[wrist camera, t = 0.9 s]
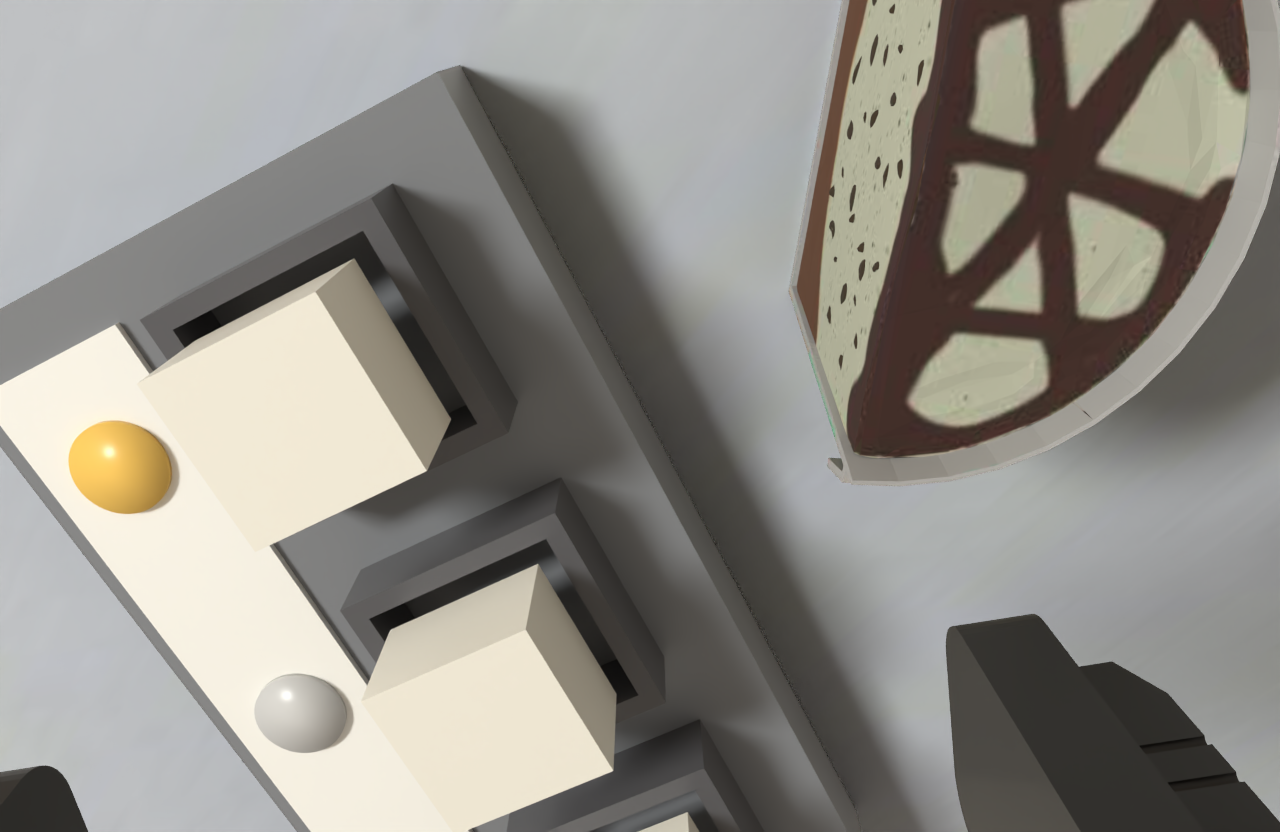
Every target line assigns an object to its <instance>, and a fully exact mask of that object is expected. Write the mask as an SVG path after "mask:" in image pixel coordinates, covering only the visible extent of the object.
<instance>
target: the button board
mask: <svg viewBox="0 0 1280 832" xmlns="http://www.w3.org/2000/svg"><path fill="white" fill-rule="evenodd" d="M352 259H355V260H356V262H357V264H358V265H359V267H360V269H361V270H362V272H363V274H364V275H365V277H366V279H367V280H368V282H369V284H370V285H371V287H372V288H373V290H374V292H375V293H376V295H377V297H378V298H379V300H380V302H381V303H382V305H383V307H384V308H385V310H386V312H387V313H388V315H389V317H390V318H391V320H392V322H393V323H394V325H395V327H396V328H397V330H398V332H399V333H400V335H401V337H402V338H403V340H404V342H405V343H406V345H407V347H408V348H409V350H410V352H411V353H412V355H413V357H414V358H415V360H416V362H417V363H418V365H419V367H420V368H421V370H422V372H423V373H424V375H425V377H426V378H427V380H428V382H429V383H430V385H431V387H432V388H433V390H434V392H435V393H436V395H437V397H438V398H439V400H440V401H441V403H442V405H443V406H444V408H445V410H446V411H447V413H448V415H449V416H450V418H451V421H450V423H449V425H448V427H447V430H446V432H445V434H444V436H443V438H442V440H441V442H440V444H439V446H438V449H437V451H436V453H435V455H434V457H433V459H432V461H431V463H430V466H429V468H428V470H427V471H426V472H424V473H422V474H420V475H417V476H415V477H413V478H411V479H409V480H407V481H405V482H403V483H401V484H398V485H396V486H394V487H392V488H390V489H388V490H386V491H384V492H381V493H379V494H377V495H375V496H373V497H371V498H369V499H367V500H365V501H362V502H360V503H358V504H356V505H354V506H352V507H350V508H348V509H346V510H343V511H341V512H339V513H337V514H335V515H333V516H331V517H329V518H326V519H324V520H322V521H320V522H318V523H316V524H314V525H312V526H310V527H307V528H305V529H303V530H301V531H299V532H297V533H295V534H293V535H291V536H288V537H286V538H284V539H282V540H280V541H278V542H276V543H274V544H271V545H269V546H267V547H265V548H263V549H261V550H259V551H257V552H255V551H254V550H253V548H252V547H251V545H250V544H249V543H248V541H247V540H246V538H245V537H244V535H243V534H242V533H241V531H240V530H239V528H238V527H237V526H236V524H235V523H234V521H233V520H232V518H231V517H230V516H229V514H228V513H227V511H226V510H225V509H224V507H223V506H222V504H221V503H220V501H219V500H218V499H217V497H216V496H215V494H214V493H213V492H212V490H211V489H210V487H209V486H208V484H207V483H206V482H205V480H204V479H203V477H202V476H201V474H200V473H199V472H198V470H197V469H196V467H195V466H194V465H193V463H192V462H191V460H190V459H189V457H188V456H187V455H186V453H185V452H184V450H183V449H182V448H181V446H180V445H179V443H178V442H177V440H176V439H175V438H174V436H173V435H172V433H171V432H170V431H169V429H168V428H167V426H166V425H165V423H164V422H163V421H162V419H161V418H160V416H159V415H158V414H157V412H156V411H155V409H154V408H153V406H152V405H151V404H150V402H149V401H148V399H147V398H146V397H145V395H144V394H143V392H142V391H141V389H140V388H139V387H138V385H137V383H138V382H139V381H141V380H142V379H144V378H145V377H146V376H148V375H149V374H150V373H152V372H153V371H154V370H156V369H157V368H159V367H160V366H161V365H163V364H164V363H165V362H167V361H168V360H169V359H171V358H172V357H174V356H175V355H176V354H178V353H179V352H180V351H182V350H183V349H184V348H186V347H187V346H189V345H190V344H191V343H193V342H194V341H195V340H197V339H199V338H201V337H203V336H205V335H207V334H209V333H211V332H213V331H215V330H217V329H219V328H221V327H223V326H224V325H226V324H228V323H230V322H232V321H234V320H236V319H238V318H240V317H242V316H244V315H246V314H248V313H250V312H252V311H254V310H255V309H257V308H259V307H261V306H263V305H265V304H267V303H269V302H271V301H273V300H275V299H277V298H279V297H281V296H283V295H284V294H286V293H288V292H290V291H292V290H294V289H296V288H298V287H300V286H302V285H304V284H306V283H308V282H310V281H312V280H313V279H315V278H317V277H319V276H321V275H323V274H325V273H327V272H329V271H331V270H333V269H335V268H337V267H339V266H341V265H342V264H344V263H346V262H348V261H350V260H352ZM0 447H1V448H2V449H3V451H4V452H5V453H6V455H7V456H8V457H9V458H10V460H11V461H12V462H13V464H14V465H15V466H16V468H17V469H18V470H19V471H20V473H21V474H22V475H23V477H24V478H25V479H26V481H27V482H28V483H29V484H30V486H31V487H32V488H33V490H34V491H35V492H36V494H37V495H38V496H39V497H40V499H41V500H42V501H43V503H44V504H45V505H46V507H47V508H48V509H49V510H50V512H51V513H52V514H53V516H54V517H55V518H56V519H57V521H58V522H59V523H60V525H61V526H62V527H63V529H64V530H65V531H66V532H67V534H68V535H69V536H70V538H71V539H72V540H73V542H74V543H75V544H76V545H77V547H78V548H79V549H80V551H81V552H82V553H83V555H84V556H85V557H86V558H87V560H88V561H89V562H90V564H91V565H92V566H93V567H94V569H95V570H96V571H97V573H98V574H99V575H100V577H101V578H102V579H103V580H104V582H105V583H106V584H107V586H108V587H109V588H110V590H111V591H112V592H113V593H114V595H115V596H116V597H117V599H118V600H119V601H120V603H121V604H122V605H123V606H124V608H125V609H126V610H127V612H128V613H129V614H130V616H131V617H132V618H133V619H134V621H135V622H136V623H137V625H138V626H139V627H140V628H141V630H142V631H143V632H144V634H145V635H146V636H147V638H148V639H149V640H150V641H151V643H152V644H153V645H154V647H155V648H156V649H157V651H158V652H159V653H160V654H161V656H162V657H163V658H164V660H165V661H166V662H167V664H168V665H169V666H170V667H171V669H172V670H173V671H174V673H175V674H176V675H177V677H178V678H179V679H180V680H181V682H182V683H183V684H184V686H185V687H186V688H187V689H188V691H189V692H190V693H191V695H192V696H193V697H194V699H195V700H196V701H197V702H198V704H199V705H200V706H201V708H202V709H203V710H204V712H205V713H206V714H207V715H208V717H209V718H210V719H211V721H212V722H213V723H214V725H215V726H216V727H217V728H218V730H219V731H220V732H221V734H222V735H223V736H224V737H225V739H226V740H227V741H228V743H229V744H230V745H231V747H232V748H233V749H234V750H235V752H236V753H237V754H238V756H239V757H240V758H241V760H242V761H243V762H244V763H245V765H246V766H247V767H248V769H249V770H250V771H251V773H252V774H253V775H254V776H255V778H256V779H257V780H258V782H259V783H260V784H261V786H262V787H263V788H264V789H265V791H266V792H267V793H268V795H269V796H270V797H271V798H272V800H273V801H274V802H275V804H276V805H277V806H278V808H279V809H280V810H281V811H282V813H283V814H284V815H285V817H286V818H287V819H288V821H289V822H290V823H291V824H292V826H293V827H294V828H295V830H296V831H297V832H452V830H451V829H450V827H449V826H448V825H447V823H446V822H445V820H444V819H443V818H442V816H441V815H440V813H439V812H438V810H437V809H436V808H435V806H434V805H433V803H432V802H431V801H430V799H429V798H428V796H427V795H426V793H425V792H424V791H423V789H422V788H421V786H420V785H419V784H418V782H417V781H416V779H415V778H414V776H413V775H412V774H411V772H410V771H409V769H408V768H407V767H406V765H405V764H404V762H403V761H402V759H401V758H400V757H399V755H398V754H397V752H396V751H395V750H394V748H393V747H392V745H391V744H390V742H389V741H388V740H387V738H386V737H385V735H384V734H383V732H382V731H381V730H380V728H379V727H378V725H377V724H376V723H375V721H374V720H373V718H372V717H371V715H370V714H369V713H368V711H367V710H366V708H365V707H364V706H363V704H362V703H361V700H362V697H363V695H364V693H365V690H366V688H367V685H368V683H369V680H370V678H371V675H372V673H373V671H374V668H375V666H376V663H377V661H378V658H379V656H380V654H381V651H382V649H383V646H384V644H385V641H386V639H387V636H388V634H389V632H390V630H391V629H394V628H396V627H398V626H400V625H403V624H405V623H407V622H409V621H411V620H414V619H416V618H418V617H420V616H423V615H425V614H427V613H429V612H432V611H434V610H436V609H438V608H441V607H443V606H445V605H447V604H449V603H452V602H454V601H456V600H458V599H461V598H463V597H465V596H467V595H470V594H472V593H474V592H476V591H479V590H481V589H483V588H485V587H487V586H490V585H492V584H494V583H496V582H499V581H501V580H503V579H505V578H508V577H510V576H512V575H514V574H517V573H519V572H521V571H523V570H525V569H528V568H530V567H532V566H534V565H537V564H539V566H540V568H541V569H542V571H543V573H544V574H545V576H546V578H547V579H548V581H549V583H550V584H551V586H552V588H553V589H554V591H555V593H556V594H557V596H558V598H559V599H560V601H561V603H562V604H563V606H564V608H565V609H566V611H567V613H568V614H569V616H570V617H571V619H572V621H573V622H574V624H575V626H576V627H577V629H578V631H579V632H580V634H581V636H582V637H583V639H584V641H585V642H586V644H587V646H588V647H589V649H590V651H591V652H592V654H593V656H594V657H595V659H596V661H597V662H598V664H599V666H600V667H601V669H602V671H603V672H604V674H605V676H606V677H607V679H608V681H609V682H610V684H611V686H612V687H613V689H614V691H615V692H616V694H617V695H616V720H615V745H614V770H613V771H612V772H610V773H607V774H605V775H602V776H600V777H597V778H595V779H592V780H590V781H587V782H585V783H583V784H580V785H578V786H575V787H573V788H570V789H568V790H565V791H563V792H560V793H558V794H555V795H553V796H551V797H548V798H546V799H543V800H541V801H538V802H536V803H533V804H531V805H528V806H526V807H523V808H521V809H519V810H516V811H514V812H511V813H509V814H506V815H504V816H501V817H499V818H496V819H494V820H491V821H489V822H487V823H484V824H482V825H479V826H477V827H474V828H472V829H469V830H467V831H464V832H638V831H641V830H643V829H646V828H648V827H651V826H653V825H656V824H659V823H661V822H664V821H666V820H669V819H671V818H674V817H676V816H679V815H681V814H684V813H686V812H688V814H689V815H690V817H691V819H692V820H693V822H694V824H695V825H696V827H697V829H698V830H699V832H862V831H861V828H860V824H859V820H858V816H857V812H856V809H855V807H854V806H853V804H852V802H851V800H850V798H849V796H848V794H847V792H846V791H845V789H844V787H843V785H842V783H841V781H840V779H839V777H838V775H837V774H836V772H835V770H834V768H833V766H832V764H831V762H830V760H829V759H828V757H827V755H826V753H825V751H824V749H823V747H822V745H821V743H820V742H819V740H818V738H817V736H816V734H815V732H814V730H813V728H812V727H811V725H810V723H809V721H808V719H807V717H806V715H805V713H804V712H803V710H802V708H801V706H800V704H799V702H798V700H797V698H796V696H795V695H794V693H793V691H792V689H791V687H790V685H789V683H788V681H787V680H786V678H785V676H784V674H783V672H782V670H781V668H780V666H779V664H778V663H777V661H776V659H775V657H774V655H773V653H772V651H771V649H770V648H769V646H768V644H767V642H766V640H765V638H764V636H763V634H762V632H761V631H760V629H759V627H758V625H757V623H756V621H755V619H754V617H753V616H752V614H751V612H750V610H749V608H748V606H747V604H746V602H745V600H744V599H743V597H742V595H741V593H740V591H739V589H738V587H737V585H736V584H735V582H734V580H733V578H732V576H731V574H730V572H729V570H728V568H727V567H726V565H725V563H724V561H723V559H722V557H721V555H720V553H719V552H718V550H717V548H716V546H715V544H714V542H713V540H712V538H711V536H710V535H709V533H708V531H707V529H706V527H705V525H704V523H703V521H702V520H701V518H700V516H699V514H698V512H697V510H696V508H695V506H694V504H693V503H692V501H691V499H690V497H689V495H688V493H687V491H686V489H685V488H684V486H683V484H682V482H681V480H680V478H679V476H678V474H677V472H676V471H675V469H674V467H673V465H672V463H671V461H670V459H669V457H668V456H667V454H666V452H665V450H664V448H663V446H662V444H661V442H660V441H659V439H658V437H657V435H656V433H655V431H654V429H653V427H652V425H651V424H650V422H649V420H648V418H647V416H646V414H645V412H644V410H643V409H642V407H641V405H640V403H639V401H638V399H637V397H636V395H635V393H634V392H633V390H632V388H631V386H630V384H629V382H628V380H627V378H626V377H625V375H624V373H623V371H622V369H621V367H620V365H619V363H618V361H617V360H616V358H615V356H614V354H613V352H612V350H611V348H610V346H609V345H608V343H607V341H606V339H605V337H604V335H603V333H602V331H601V329H600V328H599V326H598V324H597V322H596V320H595V318H594V316H593V314H592V313H591V311H590V309H589V307H588V305H587V303H586V301H585V299H584V297H583V296H582V294H581V292H580V290H579V288H578V286H577V284H576V282H575V281H574V279H573V277H572V275H571V273H570V271H569V269H568V267H567V265H566V264H565V262H564V260H563V258H562V256H561V254H560V252H559V250H558V249H557V247H556V245H555V243H554V241H553V239H552V237H551V235H550V233H549V232H548V230H547V228H546V226H545V224H544V222H543V220H542V218H541V217H540V215H539V213H538V211H537V209H536V207H535V205H534V203H533V202H532V200H531V198H530V196H529V194H528V192H527V190H526V188H525V186H524V185H523V183H522V181H521V179H520V177H519V175H518V173H517V171H516V170H515V168H514V166H513V164H512V162H511V160H510V158H509V156H508V154H507V153H506V151H505V149H504V147H503V145H502V143H501V141H500V139H499V138H498V136H497V134H496V132H495V130H494V128H493V126H492V124H491V122H490V121H489V119H488V117H487V115H486V113H485V111H484V109H483V107H482V106H481V104H480V102H479V100H478V98H477V96H476V94H475V92H474V90H473V89H472V87H471V85H470V83H469V81H468V79H467V77H466V75H465V74H464V72H463V70H462V68H461V66H460V65H459V66H455V67H452V68H449V69H445V70H442V71H438V72H436V73H434V74H432V75H431V76H429V77H427V78H425V79H423V80H421V81H420V82H418V83H416V84H414V85H412V86H410V87H408V88H407V89H405V90H403V91H401V92H399V93H397V94H396V95H394V96H392V97H390V98H388V99H386V100H385V101H383V102H381V103H379V104H377V105H375V106H373V107H372V108H370V109H368V110H366V111H364V112H362V113H361V114H359V115H357V116H355V117H353V118H351V119H349V120H348V121H346V122H344V123H342V124H340V125H338V126H337V127H335V128H333V129H331V130H329V131H327V132H326V133H324V134H322V135H320V136H318V137H316V138H314V139H313V140H311V141H309V142H307V143H305V144H303V145H302V146H300V147H298V148H296V149H294V150H292V151H290V152H289V153H287V154H285V155H283V156H281V157H279V158H278V159H276V160H274V161H272V162H270V163H268V164H267V165H265V166H263V167H261V168H259V169H257V170H255V171H254V172H252V173H250V174H248V175H246V176H244V177H243V178H241V179H239V180H237V181H235V182H233V183H231V184H230V185H228V186H226V187H224V188H222V189H220V190H219V191H217V192H215V193H213V194H211V195H209V196H208V197H206V198H204V199H202V200H200V201H198V202H196V203H195V204H193V205H191V206H189V207H187V208H185V209H184V210H182V211H180V212H178V213H176V214H174V215H172V216H171V217H169V218H167V219H165V220H163V221H161V222H160V223H158V224H156V225H154V226H152V227H150V228H149V229H147V230H145V231H143V232H141V233H139V234H137V235H136V236H134V237H132V238H130V239H128V240H126V241H125V242H123V243H121V244H119V245H117V246H115V247H114V248H112V249H110V250H108V251H106V252H104V253H102V254H101V255H99V256H97V257H95V258H93V259H91V260H90V261H88V262H86V263H84V264H82V265H80V266H78V267H77V268H75V269H73V270H71V271H69V272H67V273H66V274H64V275H62V276H60V277H58V278H56V279H55V280H53V281H51V282H49V283H47V284H45V285H43V286H42V287H40V288H38V289H36V290H34V291H32V292H31V293H29V294H27V295H25V296H23V297H21V298H19V299H18V300H16V301H14V302H12V303H10V304H8V305H7V306H5V307H3V308H1V309H0Z"/></svg>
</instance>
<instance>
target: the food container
mask: <svg viewBox="0 0 1280 832" xmlns="http://www.w3.org/2000/svg"><path fill="white" fill-rule="evenodd" d="M1279 155H1280V9H1279V4H1278V0H842V3H841V8H840V14H839V19H838V25H837V30H836V36H835V41H834V46H833V52H832V57H831V63H830V68H829V74H828V79H827V85H826V90H825V96H824V101H823V107H822V112H821V118H820V123H819V129H818V134H817V139H816V145H815V150H814V156H813V161H812V167H811V172H810V178H809V183H808V189H807V194H806V200H805V205H804V211H803V216H802V222H801V227H800V233H799V238H798V243H797V249H796V254H795V260H794V265H793V271H792V276H791V282H790V287H789V294H790V297H791V300H792V303H793V306H794V309H795V313H796V316H797V319H798V322H799V325H800V329H801V332H802V335H803V338H804V341H805V344H806V348H807V351H808V354H809V357H810V360H811V364H812V367H813V370H814V373H815V376H816V379H817V383H818V386H819V389H820V392H821V395H822V399H823V402H824V405H825V408H826V411H827V414H828V418H829V421H830V424H831V427H832V430H833V434H834V437H835V440H836V443H837V446H838V449H839V453H840V456H841V459H840V458H828V465H827V467H828V468H829V469H830V470H831V471H832V472H833V473H834V474H835V475H836V476H837V477H838V478H839V479H840V480H841V482H842V483H851V484H852V485H877V486H907V485H917V484H927V483H938V482H948V481H953V480H957V479H961V478H966V477H970V476H974V475H978V474H982V473H986V472H990V471H995V470H999V469H1002V468H1004V467H1007V466H1009V465H1012V464H1015V463H1017V462H1020V461H1022V460H1025V459H1027V458H1030V457H1033V456H1035V455H1038V454H1040V453H1043V452H1045V451H1048V450H1050V449H1052V448H1054V447H1055V446H1057V445H1059V444H1061V443H1063V442H1064V441H1066V440H1068V439H1070V438H1072V437H1074V436H1075V435H1077V434H1079V433H1081V432H1083V431H1084V430H1086V429H1088V428H1090V427H1092V426H1093V425H1095V424H1097V423H1098V422H1099V421H1101V420H1102V419H1103V418H1105V417H1106V416H1108V415H1109V414H1110V413H1112V412H1113V411H1114V410H1116V409H1117V408H1118V407H1120V406H1121V405H1122V404H1124V403H1125V402H1126V401H1128V400H1129V399H1130V398H1132V397H1133V396H1134V395H1136V394H1137V393H1139V392H1140V391H1141V390H1142V389H1143V388H1144V387H1145V386H1146V385H1147V384H1148V383H1149V382H1150V381H1151V380H1152V379H1153V378H1154V377H1155V376H1156V375H1157V374H1158V373H1160V372H1161V371H1162V370H1163V369H1164V368H1165V367H1166V366H1167V365H1168V364H1169V363H1170V362H1171V361H1172V360H1173V359H1174V358H1175V357H1176V356H1177V355H1178V354H1179V353H1180V352H1181V351H1182V349H1183V348H1184V347H1185V346H1186V344H1187V343H1188V342H1189V341H1190V339H1191V338H1192V337H1193V336H1194V334H1195V333H1196V332H1197V330H1198V329H1199V328H1200V327H1201V325H1202V324H1203V323H1204V322H1205V320H1206V319H1207V318H1208V316H1209V315H1210V314H1211V313H1212V311H1213V310H1214V309H1215V307H1216V306H1217V304H1218V302H1219V301H1220V299H1221V297H1222V296H1223V294H1224V292H1225V291H1226V289H1227V287H1228V285H1229V284H1230V282H1231V280H1232V279H1233V277H1234V275H1235V274H1236V272H1237V270H1238V269H1239V267H1240V265H1241V263H1242V262H1243V260H1244V258H1245V256H1246V253H1247V251H1248V249H1249V246H1250V244H1251V241H1252V239H1253V237H1254V234H1255V232H1256V229H1257V227H1258V225H1259V222H1260V220H1261V217H1262V215H1263V212H1264V210H1265V208H1266V205H1267V202H1268V198H1269V194H1270V190H1271V186H1272V182H1273V178H1274V174H1275V171H1276V167H1277V163H1278V159H1279Z"/></svg>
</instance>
